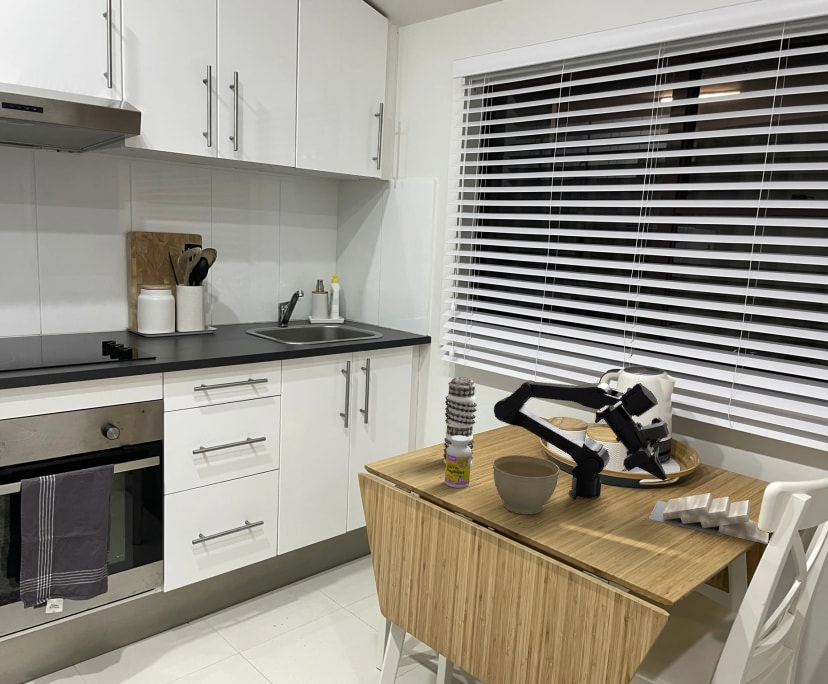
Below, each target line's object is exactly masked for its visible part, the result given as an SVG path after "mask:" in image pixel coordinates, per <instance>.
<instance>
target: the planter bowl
mask: <svg viewBox="0 0 828 684" xmlns="http://www.w3.org/2000/svg"><path fill="white" fill-rule="evenodd" d="M492 469H493V481H494V486H495V489H496V491H497V493H498V495H499V497H500V499H501V500H502V502H503V503H502V504H503V507H504V508H505V509H506V510H507V511H510V512H512V513H516V514H521V515H536V514H538V513H540V512H542V511H543V508H544V506H545V505H546V503H547V502H548V501H549V500H550V499H551V498H552V496H553V494H554V492H555V490H556V488H557V484H558V478H559V475H560V467H559V465H557V464H556V463H554V462H553V461H551V460H548V459H546V458H542V457H536V456H531V455H521V454H520V455H518V454H514V455H511V454H510V455H503V456H500V457H498V458H495V459H494V460H493V461H492Z"/></svg>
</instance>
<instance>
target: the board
mask: <svg viewBox="0 0 828 684" xmlns="http://www.w3.org/2000/svg"><path fill="white" fill-rule="evenodd" d="M667 503H668V502H665V501H662V500H657V501H656V503H655V505H654V508H653V509H652V511H651V513H650V515H649V517H648V520H652V521H657V522H660V523H664V524H668V525H673V526H678V527H682V528H685V529H690V530H695V531H698V532H704V533H707V534H711V535H715V536H719V537H723V534H722V533H720V532H718V531H719V527H720V526H715V527H707V528H702V525H701V522H694V523H687V524H682V521H681V518H674V519H668V520H664V517H663V514H662V513H663V511H664V509H665V507H666V505H667Z"/></svg>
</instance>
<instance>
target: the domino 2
mask: <svg viewBox="0 0 828 684" xmlns="http://www.w3.org/2000/svg"><path fill="white" fill-rule="evenodd" d="M712 499H713V500H712V503H711V506H710V509H709V513H708V514H701V515H695V516H688V517H681V521H682V524H687V523H694V522H701V521H708V520H715V519H721V518H728V513H729V509H730V504H731V503H732V502H731V501H730V500H731V499H730V497H729V496H722V497H717V498H712Z"/></svg>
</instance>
